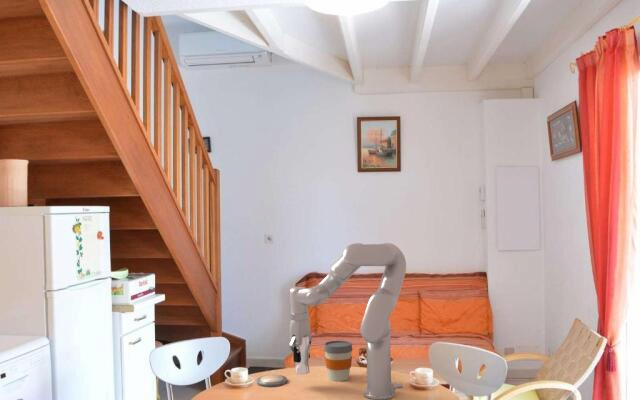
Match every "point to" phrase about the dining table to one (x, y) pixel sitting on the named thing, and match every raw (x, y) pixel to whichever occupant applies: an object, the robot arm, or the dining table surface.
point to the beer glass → (303, 357)
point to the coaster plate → (271, 380)
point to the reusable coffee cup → (338, 359)
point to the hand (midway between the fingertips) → (302, 359)
